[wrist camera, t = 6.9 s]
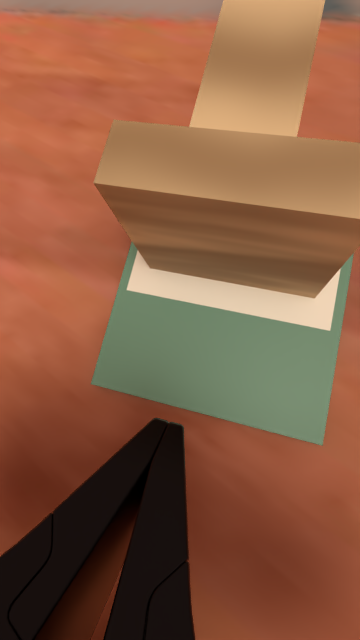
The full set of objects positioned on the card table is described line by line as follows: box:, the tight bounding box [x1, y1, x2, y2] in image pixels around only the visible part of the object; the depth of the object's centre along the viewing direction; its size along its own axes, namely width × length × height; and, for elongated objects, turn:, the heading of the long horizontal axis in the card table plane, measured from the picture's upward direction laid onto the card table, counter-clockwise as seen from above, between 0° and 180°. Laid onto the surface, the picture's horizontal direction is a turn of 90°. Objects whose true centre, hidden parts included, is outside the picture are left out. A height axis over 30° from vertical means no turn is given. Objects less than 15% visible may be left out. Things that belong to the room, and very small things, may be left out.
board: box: [91, 242, 354, 446], centre depth 19 cm, size 16×12×1 cm
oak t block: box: [94, 0, 360, 298], centre depth 15 cm, size 8×9×8 cm
